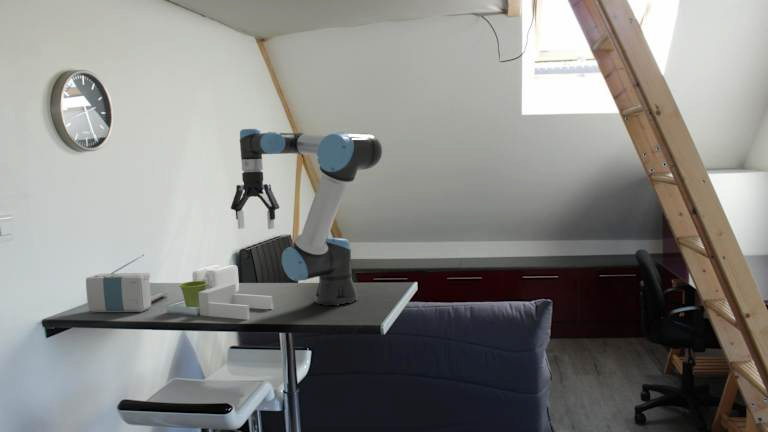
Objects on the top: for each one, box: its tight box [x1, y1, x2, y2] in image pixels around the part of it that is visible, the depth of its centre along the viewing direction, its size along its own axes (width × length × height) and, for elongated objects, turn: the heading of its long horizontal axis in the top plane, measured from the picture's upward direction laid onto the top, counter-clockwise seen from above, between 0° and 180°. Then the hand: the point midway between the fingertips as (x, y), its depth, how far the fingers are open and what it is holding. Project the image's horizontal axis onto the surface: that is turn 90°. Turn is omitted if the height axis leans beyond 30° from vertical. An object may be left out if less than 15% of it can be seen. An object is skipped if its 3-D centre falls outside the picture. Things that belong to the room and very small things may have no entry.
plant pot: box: [178, 280, 207, 308], centre depth 207 cm, size 9×9×9 cm
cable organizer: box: [191, 264, 240, 294], centre depth 227 cm, size 15×11×12 cm
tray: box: [166, 299, 201, 317], centre depth 208 cm, size 13×13×2 cm
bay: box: [198, 284, 274, 321], centre depth 202 cm, size 20×14×8 cm
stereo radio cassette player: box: [85, 254, 152, 314], centre depth 210 cm, size 21×8×20 cm, turn 82°
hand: (256, 228), depth 218 cm, fingers open, 13 cm apart
